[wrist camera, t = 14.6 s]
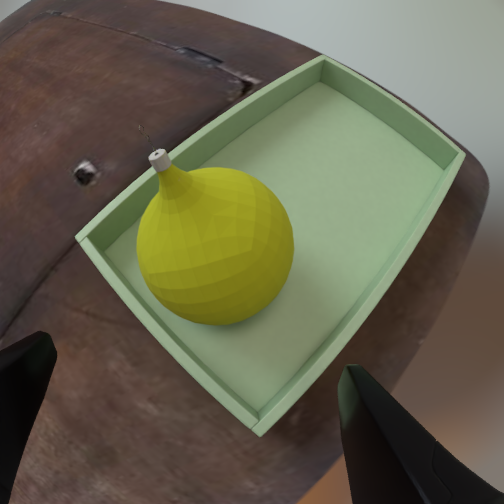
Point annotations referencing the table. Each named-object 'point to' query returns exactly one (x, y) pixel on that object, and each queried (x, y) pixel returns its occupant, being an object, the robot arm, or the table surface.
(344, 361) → the table surface
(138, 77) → the table surface
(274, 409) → the pale green tray
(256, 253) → the ornament
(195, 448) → the table surface
